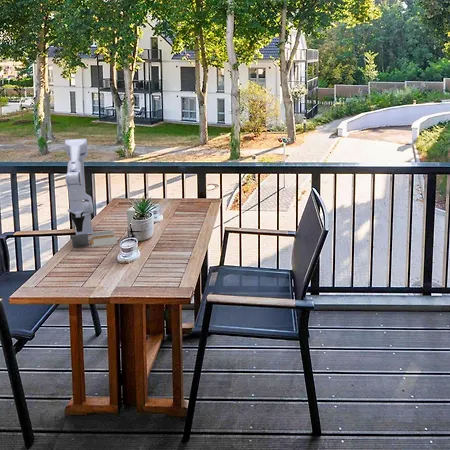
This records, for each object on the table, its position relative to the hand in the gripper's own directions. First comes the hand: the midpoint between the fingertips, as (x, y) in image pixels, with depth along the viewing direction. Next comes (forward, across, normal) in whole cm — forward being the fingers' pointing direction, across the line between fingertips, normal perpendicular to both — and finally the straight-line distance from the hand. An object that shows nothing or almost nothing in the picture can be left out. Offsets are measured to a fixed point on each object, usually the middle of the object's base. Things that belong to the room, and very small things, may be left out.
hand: (78, 229), depth 281 cm
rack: (+8, -3, +10) cm, 13 cm away
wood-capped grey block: (+8, 0, 0) cm, 8 cm away
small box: (+8, -16, +27) cm, 32 cm away
